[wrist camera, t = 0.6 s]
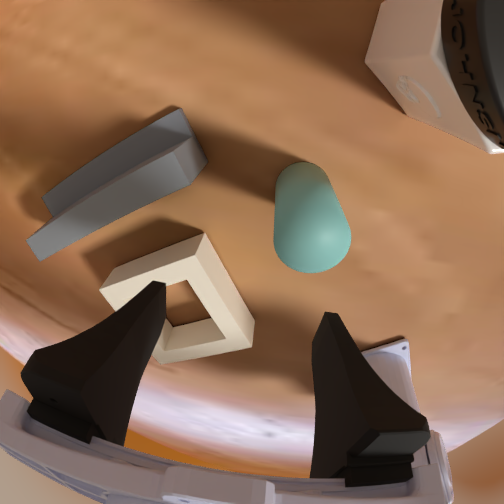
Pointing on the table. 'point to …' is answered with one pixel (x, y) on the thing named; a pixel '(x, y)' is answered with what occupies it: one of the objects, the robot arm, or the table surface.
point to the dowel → (308, 220)
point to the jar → (444, 65)
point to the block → (207, 289)
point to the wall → (120, 182)
